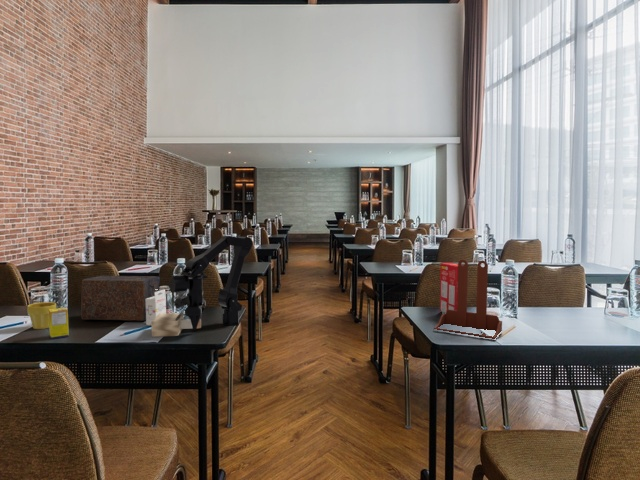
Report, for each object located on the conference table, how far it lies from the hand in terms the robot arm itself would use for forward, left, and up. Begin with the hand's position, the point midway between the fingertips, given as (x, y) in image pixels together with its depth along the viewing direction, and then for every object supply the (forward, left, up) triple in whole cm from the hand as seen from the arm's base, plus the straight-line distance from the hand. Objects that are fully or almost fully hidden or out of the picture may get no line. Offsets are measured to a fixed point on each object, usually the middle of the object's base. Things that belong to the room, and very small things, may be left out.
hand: (195, 327), depth 179 cm
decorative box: (+37, -27, -2) cm, 46 cm away
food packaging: (-119, -12, -2) cm, 120 cm away
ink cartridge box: (+19, -15, -2) cm, 24 cm away
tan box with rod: (+11, 0, -2) cm, 11 cm away
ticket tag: (+6, 0, 0) cm, 6 cm away
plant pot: (+65, -14, -2) cm, 67 cm away
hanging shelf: (-111, +17, -2) cm, 113 cm away
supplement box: (+52, +2, -2) cm, 52 cm away
